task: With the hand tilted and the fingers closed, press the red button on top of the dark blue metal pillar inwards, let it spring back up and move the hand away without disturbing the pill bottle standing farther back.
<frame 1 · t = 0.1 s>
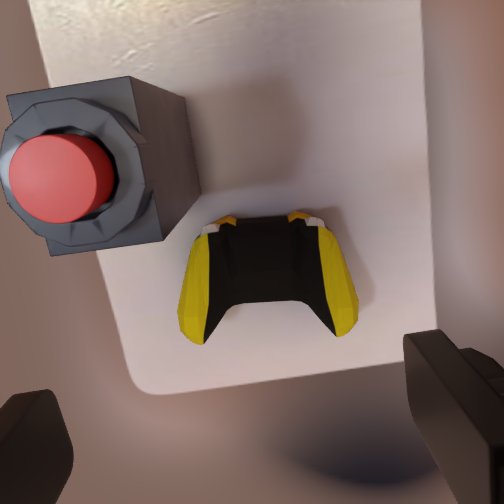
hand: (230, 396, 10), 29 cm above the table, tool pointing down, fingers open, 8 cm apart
button pillar: (157, 152, 37), on the table
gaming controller: (265, 265, 40), on the table
button: (64, 177, 19), point 19 cm above the table, slide at 0.1 cm
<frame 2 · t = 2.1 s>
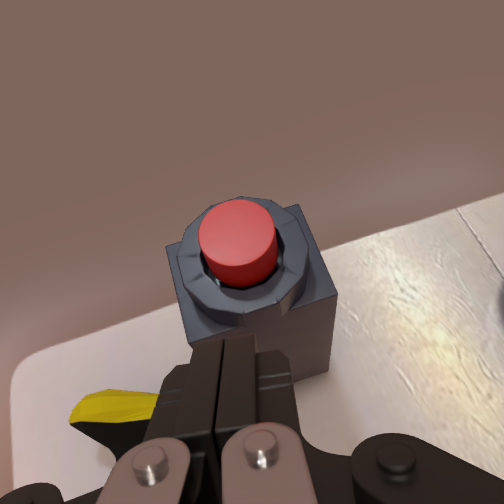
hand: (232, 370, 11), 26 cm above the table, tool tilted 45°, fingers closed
button pillar: (271, 351, 38), on the table
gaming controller: (163, 490, 34), on the table
button: (239, 243, 22), point 19 cm above the table, slide at 0.1 cm
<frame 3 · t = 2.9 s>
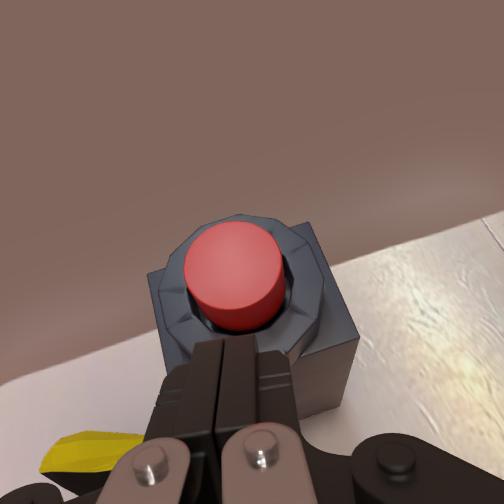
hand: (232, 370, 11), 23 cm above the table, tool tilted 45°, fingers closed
button pillar: (274, 383, 33), on the table
button: (236, 276, 17), point 19 cm above the table, slide at 0.1 cm
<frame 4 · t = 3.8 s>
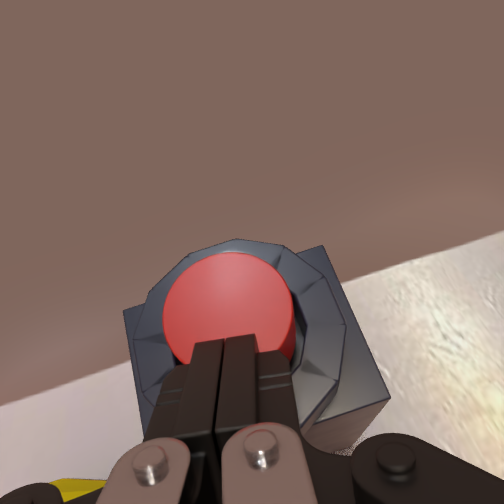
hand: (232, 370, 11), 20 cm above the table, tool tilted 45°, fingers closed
button pillar: (277, 418, 29), on the table
button: (233, 324, 13), point 19 cm above the table, slide at 0.0 cm, touching gripper
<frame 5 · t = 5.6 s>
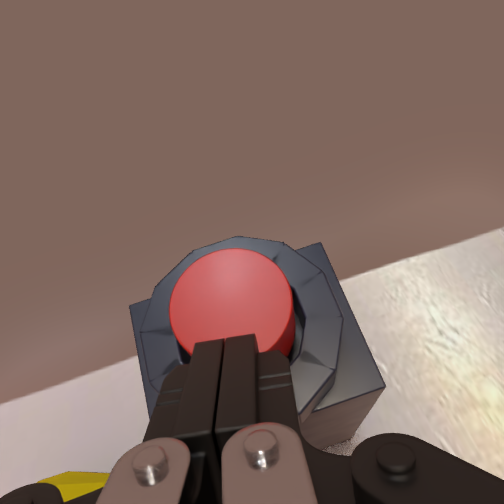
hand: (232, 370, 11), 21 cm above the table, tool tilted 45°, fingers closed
button pillar: (277, 412, 30), on the table
button: (235, 316, 14), point 19 cm above the table, slide at 0.1 cm
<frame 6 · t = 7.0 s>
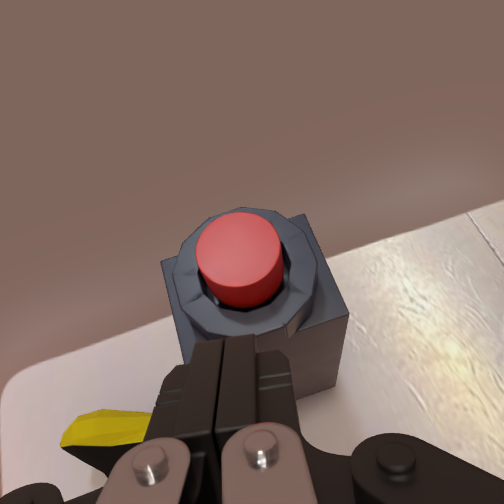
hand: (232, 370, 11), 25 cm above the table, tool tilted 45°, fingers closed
button pillar: (274, 366, 36), on the table
button: (241, 260, 20), point 19 cm above the table, slide at 0.1 cm
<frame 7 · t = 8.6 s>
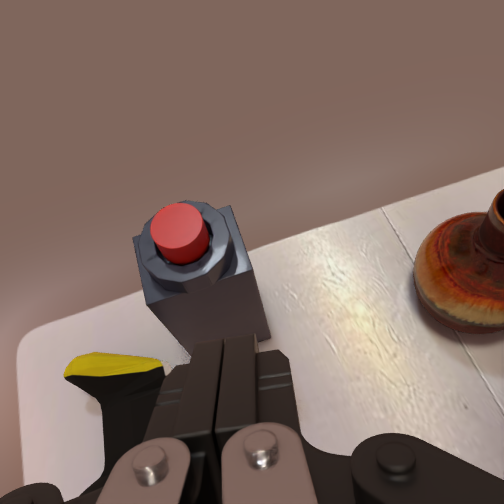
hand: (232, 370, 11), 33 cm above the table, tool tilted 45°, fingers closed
button pillar: (226, 324, 47), on the table
vase: (461, 292, 46), on the table
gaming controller: (138, 431, 43), on the table
button: (180, 233, 31), point 19 cm above the table, slide at 0.1 cm
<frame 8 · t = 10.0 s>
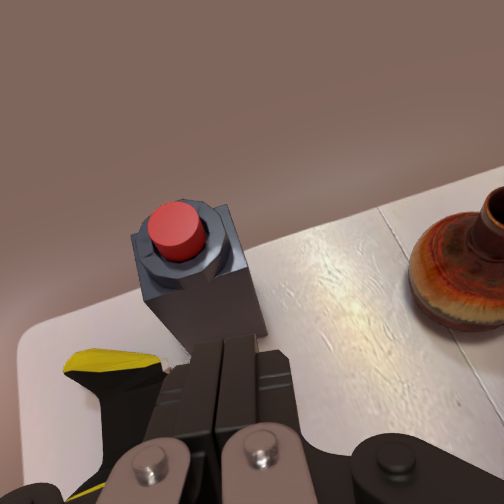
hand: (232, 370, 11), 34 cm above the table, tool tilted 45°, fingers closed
button pillar: (223, 321, 48), on the table
vase: (456, 291, 47), on the table
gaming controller: (136, 426, 44), on the table
button: (177, 231, 32), point 19 cm above the table, slide at 0.1 cm
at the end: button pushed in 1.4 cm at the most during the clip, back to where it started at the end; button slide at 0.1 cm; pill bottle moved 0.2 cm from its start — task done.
